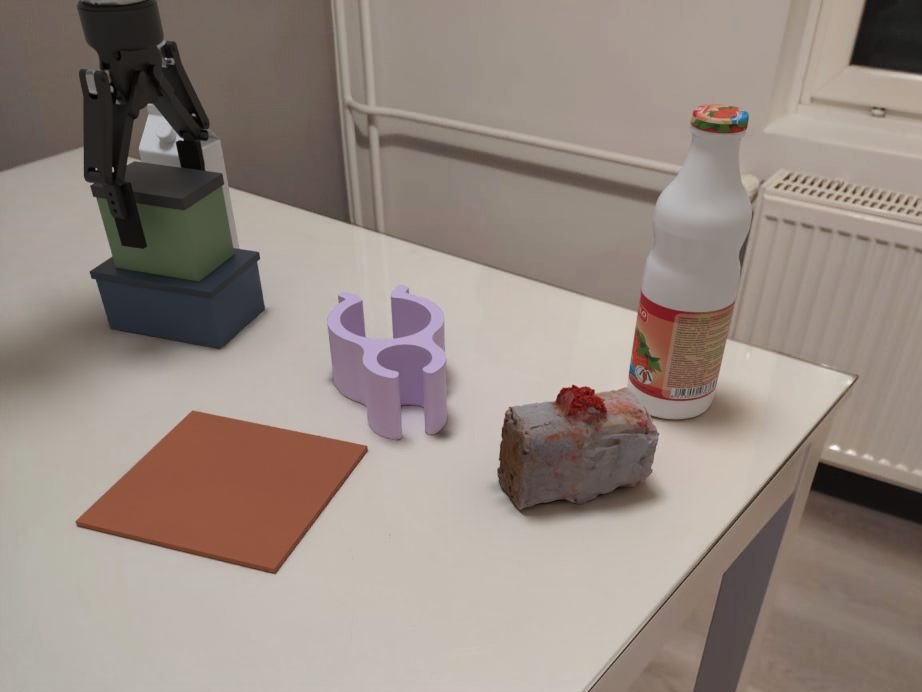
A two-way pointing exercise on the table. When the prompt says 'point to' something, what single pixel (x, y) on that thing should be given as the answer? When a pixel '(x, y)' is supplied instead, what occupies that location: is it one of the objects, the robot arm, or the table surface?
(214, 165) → the milk carton
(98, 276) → the lower tub
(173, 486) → the mat
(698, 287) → the fruit juice
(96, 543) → the table surface
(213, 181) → the box
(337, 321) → the clip
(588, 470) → the food item
